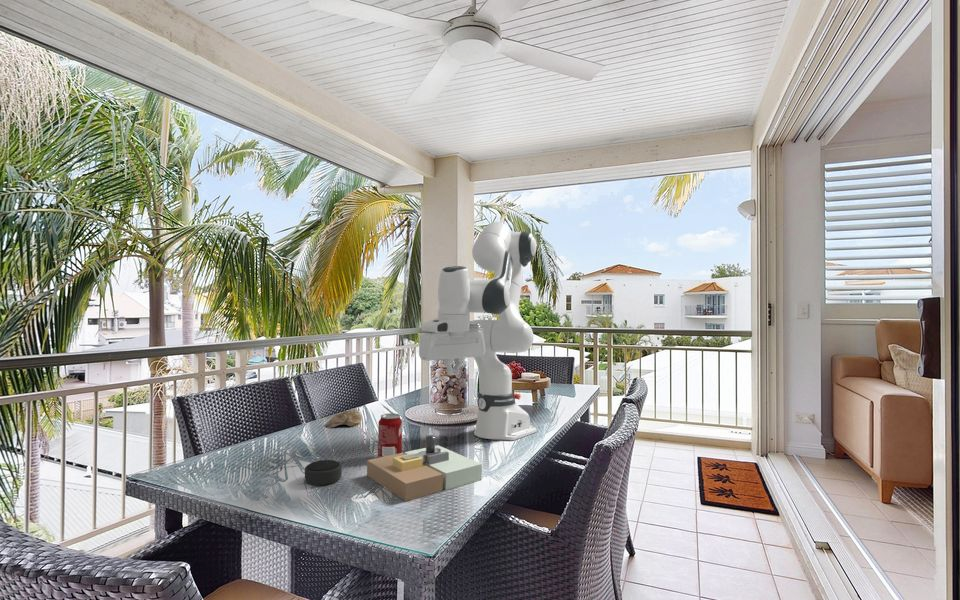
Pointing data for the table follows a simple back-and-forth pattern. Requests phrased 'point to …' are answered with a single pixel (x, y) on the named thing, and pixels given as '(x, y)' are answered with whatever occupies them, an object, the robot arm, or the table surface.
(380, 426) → the soda can
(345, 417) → the oyster shell
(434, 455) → the door and jamb
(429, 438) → the bolt
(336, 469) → the smart speaker
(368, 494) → the table surface
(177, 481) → the table surface
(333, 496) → the table surface
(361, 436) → the table surface
